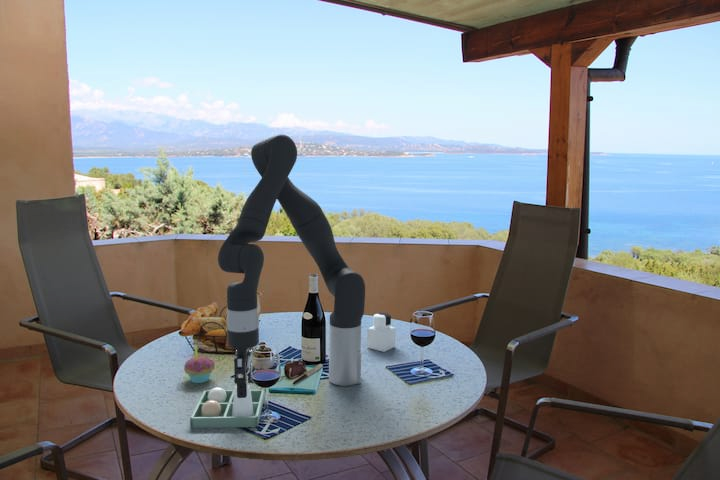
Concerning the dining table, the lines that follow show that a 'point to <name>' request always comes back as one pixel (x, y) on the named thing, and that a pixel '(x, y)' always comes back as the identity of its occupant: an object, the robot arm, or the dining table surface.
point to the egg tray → (228, 412)
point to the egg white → (217, 395)
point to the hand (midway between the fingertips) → (244, 389)
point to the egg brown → (211, 409)
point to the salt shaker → (242, 403)
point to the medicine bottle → (381, 333)
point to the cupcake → (199, 368)
